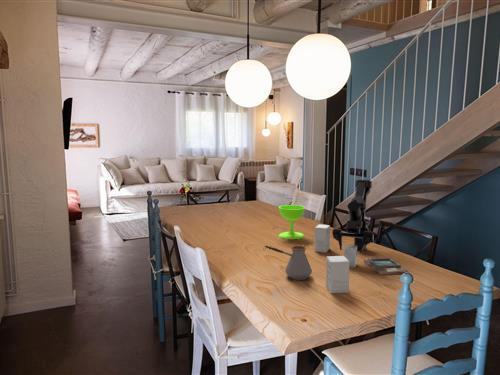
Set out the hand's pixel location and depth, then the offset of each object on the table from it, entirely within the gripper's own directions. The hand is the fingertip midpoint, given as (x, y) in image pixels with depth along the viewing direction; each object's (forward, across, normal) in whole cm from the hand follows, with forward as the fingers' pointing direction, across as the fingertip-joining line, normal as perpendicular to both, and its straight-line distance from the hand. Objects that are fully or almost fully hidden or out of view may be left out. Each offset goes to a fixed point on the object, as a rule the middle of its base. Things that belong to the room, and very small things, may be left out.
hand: (350, 250), depth 180 cm
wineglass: (-25, -42, +35) cm, 60 cm away
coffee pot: (+24, -22, -13) cm, 35 cm away
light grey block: (+5, 0, +6) cm, 7 cm away
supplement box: (+28, 0, -17) cm, 32 cm away
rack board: (+3, +15, +7) cm, 17 cm away
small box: (-9, -18, +20) cm, 28 cm away
